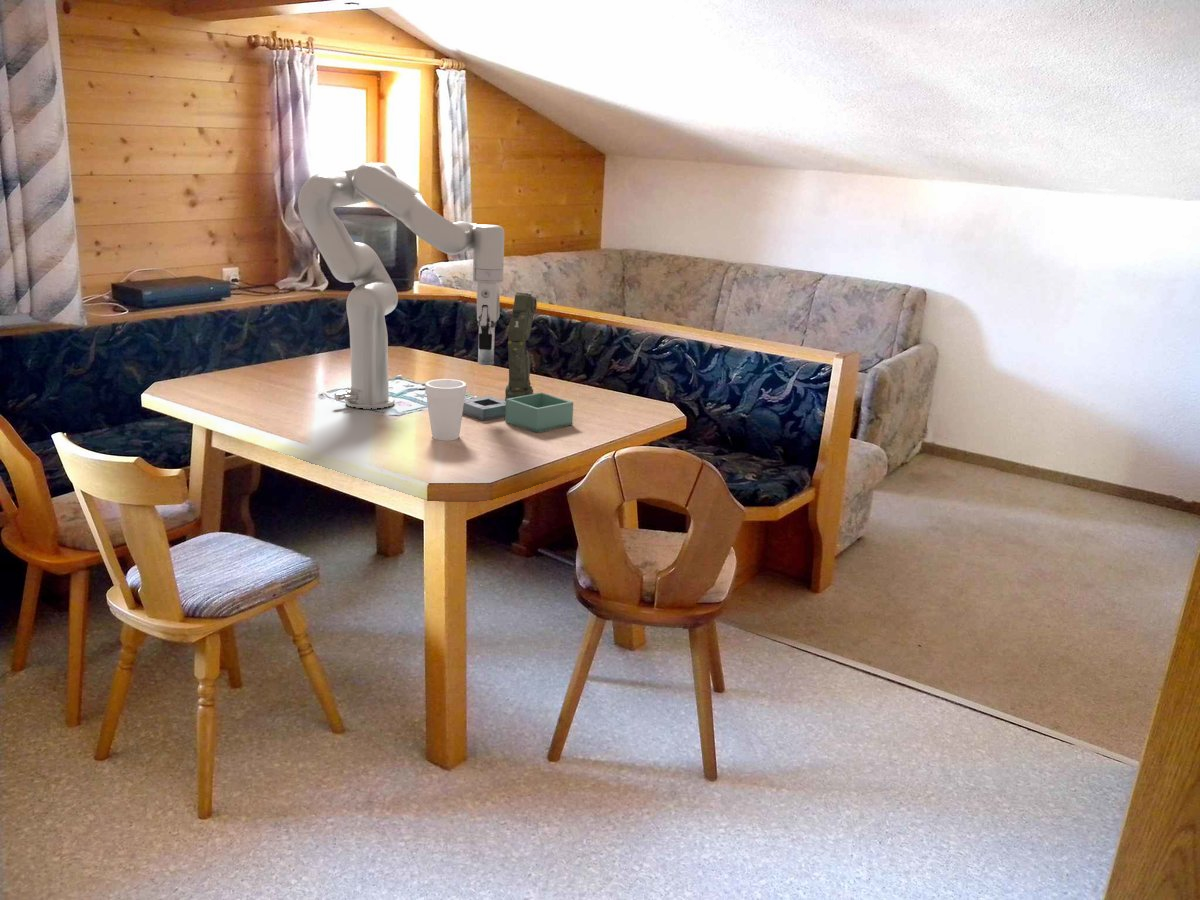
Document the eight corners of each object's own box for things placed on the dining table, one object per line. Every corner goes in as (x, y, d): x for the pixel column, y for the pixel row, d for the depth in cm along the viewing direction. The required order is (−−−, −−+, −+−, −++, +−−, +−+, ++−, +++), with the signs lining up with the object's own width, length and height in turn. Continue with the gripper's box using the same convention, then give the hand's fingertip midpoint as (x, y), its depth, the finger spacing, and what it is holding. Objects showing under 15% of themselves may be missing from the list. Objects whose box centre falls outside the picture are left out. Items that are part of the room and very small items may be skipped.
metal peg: (475, 364, 255) (476, 317, 251) (478, 361, 259) (479, 314, 256) (493, 365, 255) (495, 319, 251) (495, 362, 259) (497, 316, 256)
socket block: (483, 420, 254) (483, 409, 253) (459, 412, 261) (459, 401, 260) (513, 414, 261) (513, 403, 260) (489, 406, 268) (489, 395, 267)
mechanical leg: (522, 404, 268) (532, 291, 267) (496, 401, 270) (506, 289, 268) (535, 404, 282) (544, 297, 280) (510, 401, 283) (519, 295, 281)
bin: (536, 432, 246) (537, 409, 244) (505, 421, 254) (505, 398, 252) (572, 425, 254) (573, 402, 253) (541, 414, 262) (541, 392, 261)
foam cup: (471, 433, 243) (471, 381, 239) (457, 444, 234) (457, 390, 230) (434, 429, 245) (434, 377, 241) (419, 439, 236) (419, 386, 232)
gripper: (499, 280, 242) (497, 355, 248) (506, 272, 258) (504, 342, 264) (468, 278, 242) (467, 353, 248) (477, 270, 258) (475, 340, 264)
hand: (486, 346), depth 256 cm, fingers closed on metal peg, 4 cm apart
